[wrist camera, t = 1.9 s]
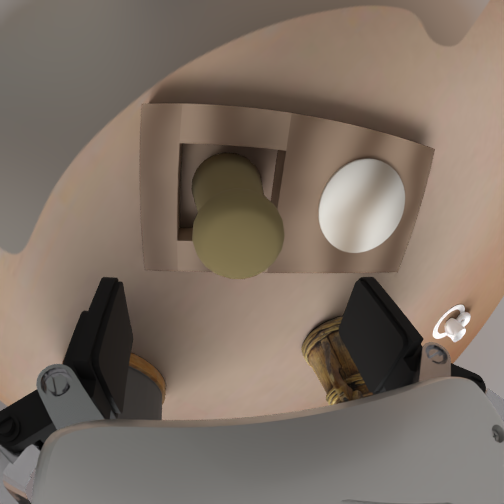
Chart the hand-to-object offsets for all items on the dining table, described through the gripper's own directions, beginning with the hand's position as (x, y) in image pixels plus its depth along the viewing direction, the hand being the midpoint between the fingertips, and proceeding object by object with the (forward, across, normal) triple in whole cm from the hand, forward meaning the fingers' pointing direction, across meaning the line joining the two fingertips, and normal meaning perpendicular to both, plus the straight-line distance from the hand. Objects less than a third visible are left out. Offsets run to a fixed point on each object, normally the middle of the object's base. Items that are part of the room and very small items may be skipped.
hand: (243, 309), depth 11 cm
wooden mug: (+16, -15, +18) cm, 28 cm away
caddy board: (+15, -7, 0) cm, 17 cm away
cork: (+16, -1, 0) cm, 16 cm away
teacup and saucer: (+16, -43, +22) cm, 51 cm away
